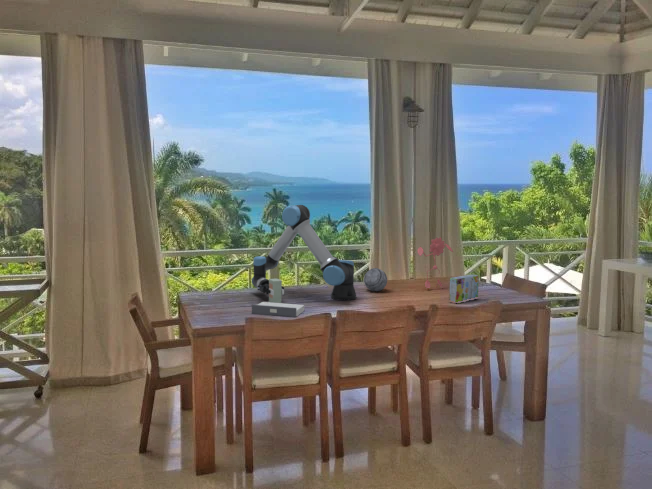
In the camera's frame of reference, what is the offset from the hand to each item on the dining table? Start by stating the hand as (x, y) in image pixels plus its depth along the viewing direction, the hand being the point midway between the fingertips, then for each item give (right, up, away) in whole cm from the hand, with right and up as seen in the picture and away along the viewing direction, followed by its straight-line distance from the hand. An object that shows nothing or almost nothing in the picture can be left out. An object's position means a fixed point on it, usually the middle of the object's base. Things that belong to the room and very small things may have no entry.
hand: (278, 292), depth 291 cm
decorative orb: (+58, -4, +47) cm, 75 cm away
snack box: (+108, -7, +22) cm, 111 cm away
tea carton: (-2, -7, +6) cm, 9 cm away
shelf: (+1, -9, -12) cm, 15 cm away
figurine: (+99, -4, +54) cm, 113 cm away
